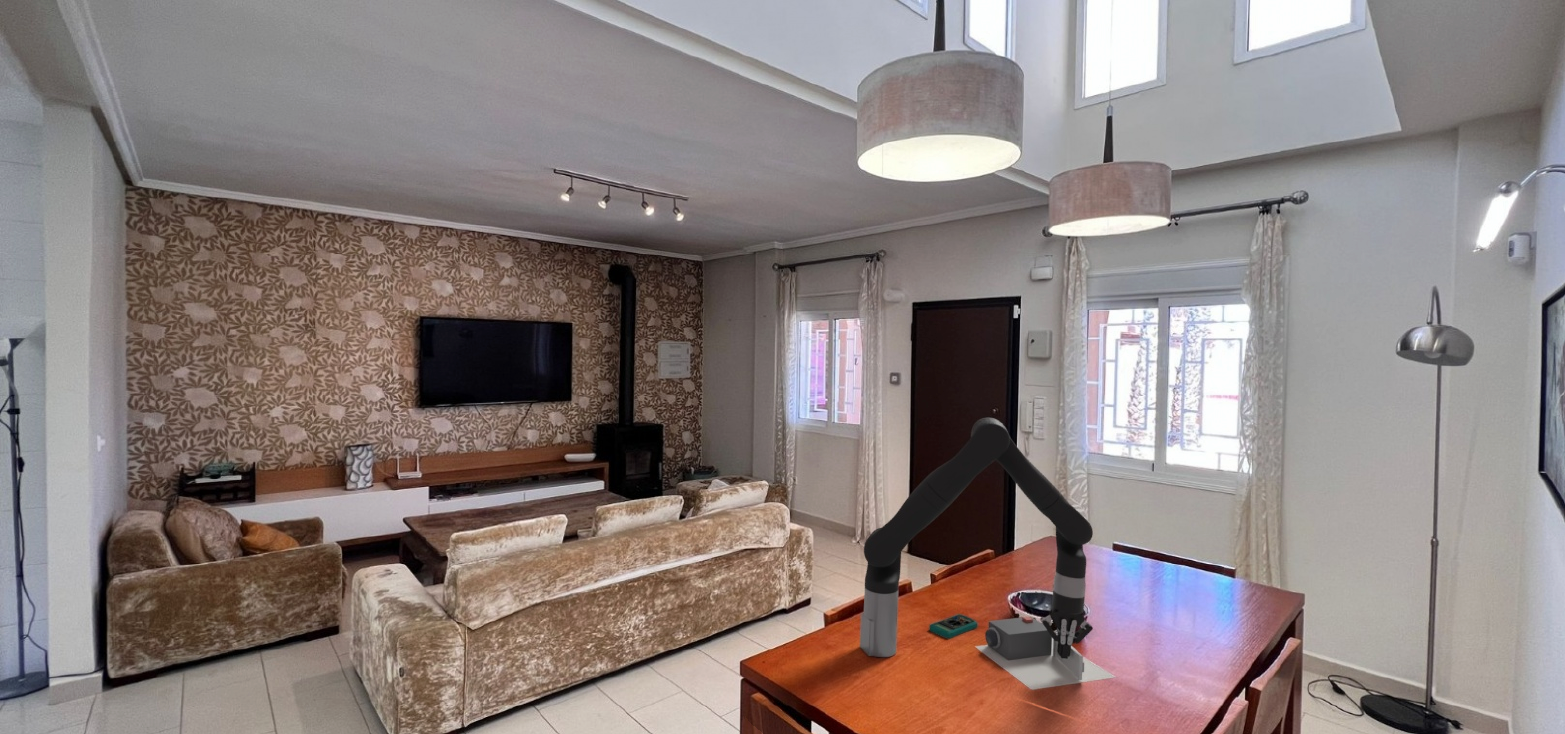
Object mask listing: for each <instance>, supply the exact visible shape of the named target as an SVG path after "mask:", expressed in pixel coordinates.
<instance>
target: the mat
mask: <svg viewBox="0 0 1565 734" xmlns="http://www.w3.org/2000/svg"><path fill="white" fill-rule="evenodd" d="M974 648H976V649H977V650H978V651H980V652H981V653H982V654H984V655H985V656H986V657H987V658H989V659H990V660H992V661H993V662H995V663H996V664H997V665H998V666H999V667H1001V668H1002V669H1004V671H1006V672H1007V673H1008V674H1010V675H1011V676H1013V677H1014V678H1015V679H1017V680H1018V681H1019V682H1020V683H1021V684H1023V685H1025V687H1028V689H1030V690H1031V691H1033V690H1039V689H1040V690H1041V689H1048V688H1053V687H1054V688H1055V687H1059V686H1060V687H1061V686H1068V685H1073V684H1080V683H1086V682H1087V683H1089V682H1094V681H1102V680H1108V679H1115V678H1116V676H1115V675H1113V674H1112V673H1110V672H1109V671H1108V670H1106V669H1104V668H1103V667H1101V666H1099V665H1098V664H1095V663H1094V662H1092V661H1091V660H1090V659H1088V658H1087V657H1085V656H1083V662H1084V672H1082V680H1079V679H1078V678H1077V677H1076V676H1075V675H1074V674H1073V673H1072V672H1071V671H1070V670H1069V669H1068V668H1067V667H1066V666H1065V665H1064V664H1063V663H1062V662H1061V661H1060V660H1059V659H1058V658H1057V657H1056V656H1053V638H1052V652H1051V655H1046V656H1039V657H1031V658H1023V659H1016V660H1007V659H1005V658H1004V657H1003V656H1001V655H1000V654H999V653H997V652H996V651H994V650H993V649H992V648H990V647H989V646H988V644H985V645H975V646H974Z"/></svg>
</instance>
